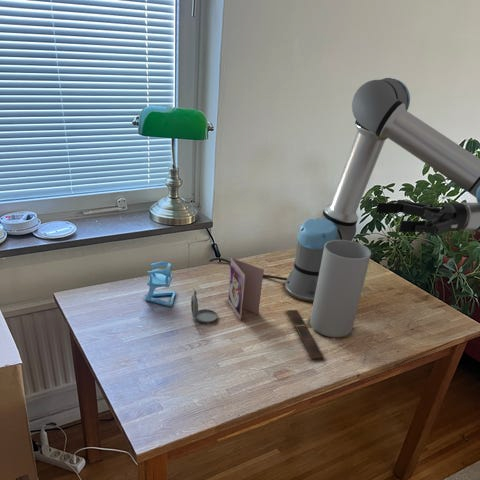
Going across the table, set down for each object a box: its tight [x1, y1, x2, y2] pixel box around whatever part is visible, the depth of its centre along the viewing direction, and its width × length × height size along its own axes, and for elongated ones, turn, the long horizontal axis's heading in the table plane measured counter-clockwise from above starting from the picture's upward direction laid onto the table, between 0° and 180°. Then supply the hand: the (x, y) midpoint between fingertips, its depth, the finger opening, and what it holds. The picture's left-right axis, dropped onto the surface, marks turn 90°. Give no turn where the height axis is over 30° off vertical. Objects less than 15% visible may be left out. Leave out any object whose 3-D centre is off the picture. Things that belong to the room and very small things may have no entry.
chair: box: [145, 261, 176, 307], centre depth 142 cm, size 8×8×12 cm
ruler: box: [286, 309, 324, 361], centre depth 135 cm, size 24×3×1 cm, turn 11°
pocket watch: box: [190, 287, 218, 324], centre depth 136 cm, size 8×8×10 cm
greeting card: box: [227, 257, 265, 321], centre depth 140 cm, size 11×7×15 cm, turn 21°
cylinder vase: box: [309, 240, 372, 338], centre depth 133 cm, size 12×12×25 cm
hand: (387, 216), depth 124 cm, fingers open, 13 cm apart
